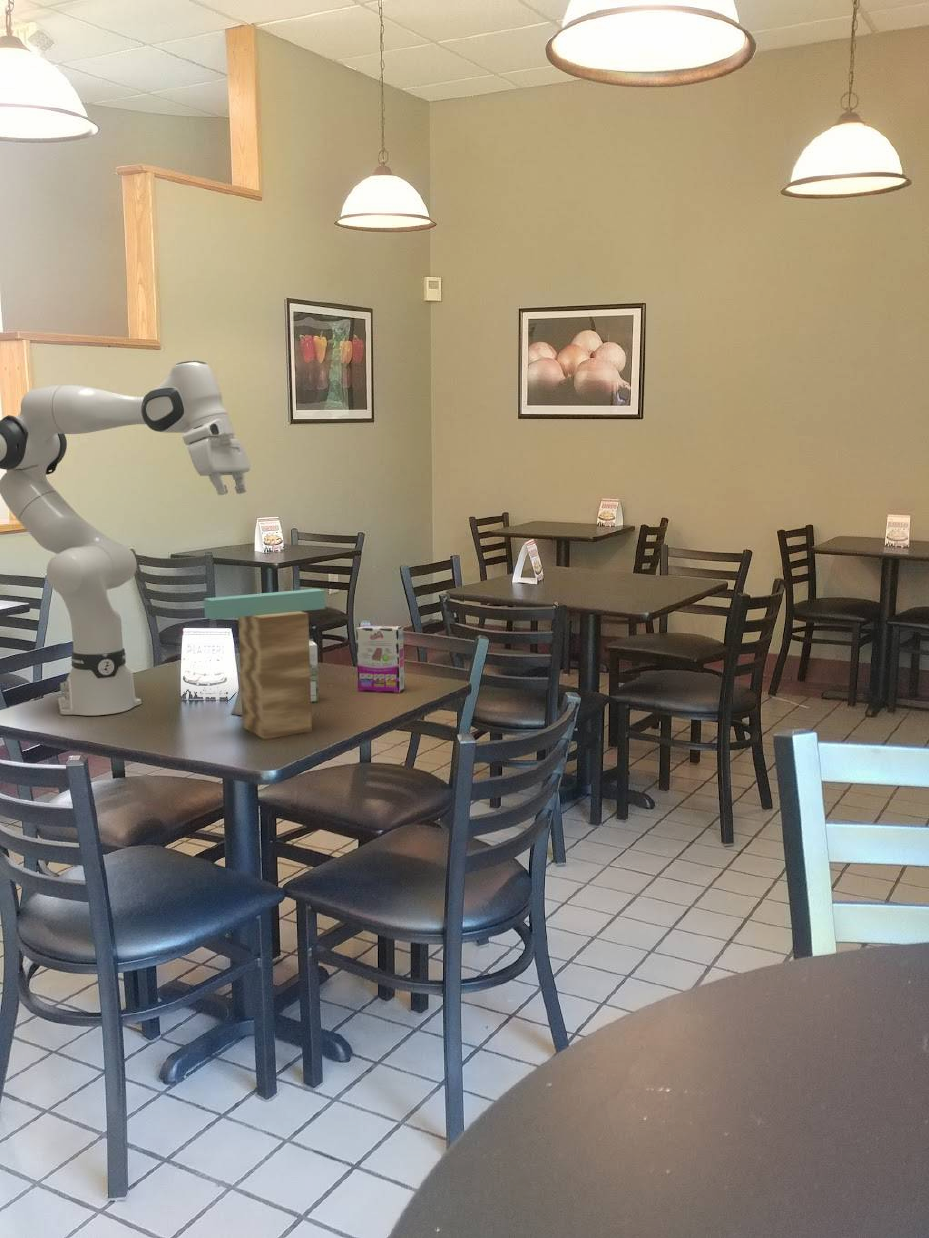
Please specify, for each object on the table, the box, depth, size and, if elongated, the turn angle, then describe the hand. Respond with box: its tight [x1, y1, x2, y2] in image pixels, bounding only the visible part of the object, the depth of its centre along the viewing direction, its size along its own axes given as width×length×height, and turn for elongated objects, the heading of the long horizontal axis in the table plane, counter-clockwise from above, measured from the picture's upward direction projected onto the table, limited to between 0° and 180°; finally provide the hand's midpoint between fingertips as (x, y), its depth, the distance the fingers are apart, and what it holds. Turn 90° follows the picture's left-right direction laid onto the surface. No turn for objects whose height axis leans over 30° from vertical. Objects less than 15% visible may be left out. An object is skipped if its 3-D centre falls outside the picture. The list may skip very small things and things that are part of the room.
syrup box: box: [309, 640, 319, 703], centre depth 265 cm, size 6×6×14 cm
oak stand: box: [237, 611, 313, 740], centre depth 238 cm, size 12×11×26 cm
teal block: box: [203, 588, 326, 621], centre depth 234 cm, size 4×26×4 cm, turn 124°
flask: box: [231, 669, 242, 716], centre depth 254 cm, size 7×7×10 cm
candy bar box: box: [355, 624, 406, 694], centre depth 275 cm, size 11×5×16 cm, turn 76°
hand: (232, 493), depth 239 cm, fingers open, 8 cm apart
